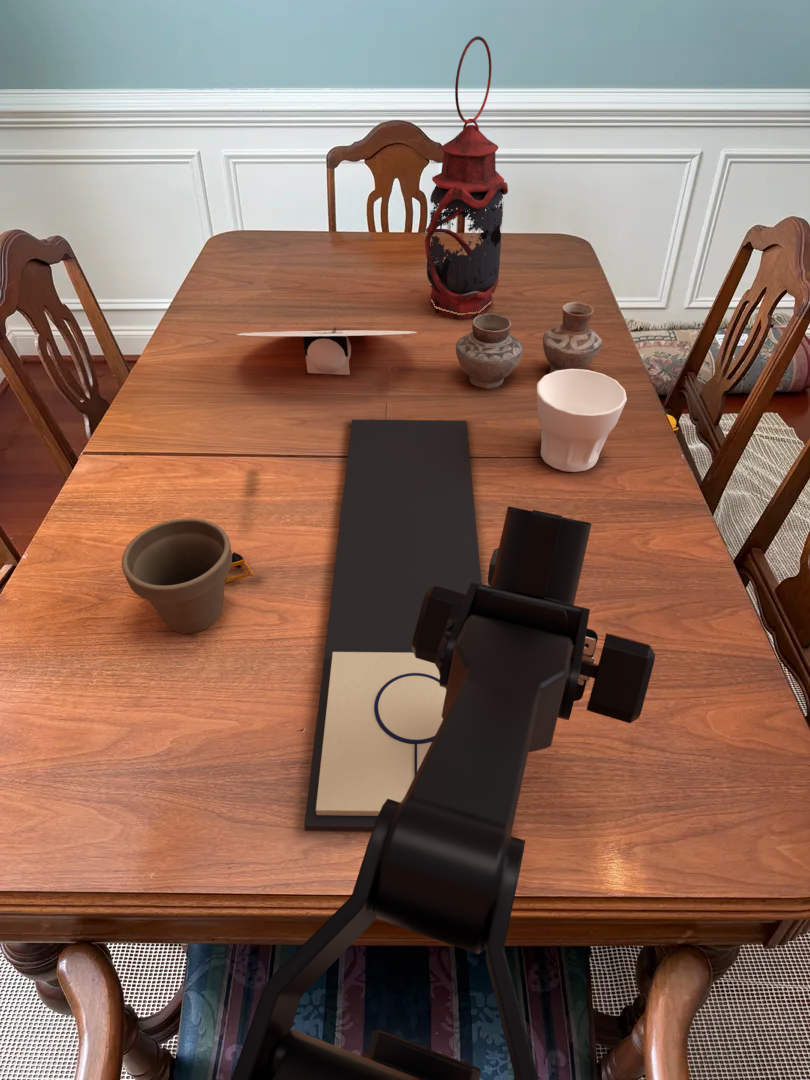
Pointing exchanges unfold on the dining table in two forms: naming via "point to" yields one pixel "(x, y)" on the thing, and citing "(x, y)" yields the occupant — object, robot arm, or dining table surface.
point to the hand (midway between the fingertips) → (536, 644)
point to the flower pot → (180, 571)
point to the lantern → (467, 187)
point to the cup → (577, 416)
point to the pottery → (500, 353)
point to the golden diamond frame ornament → (238, 563)
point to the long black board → (388, 613)
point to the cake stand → (327, 347)
